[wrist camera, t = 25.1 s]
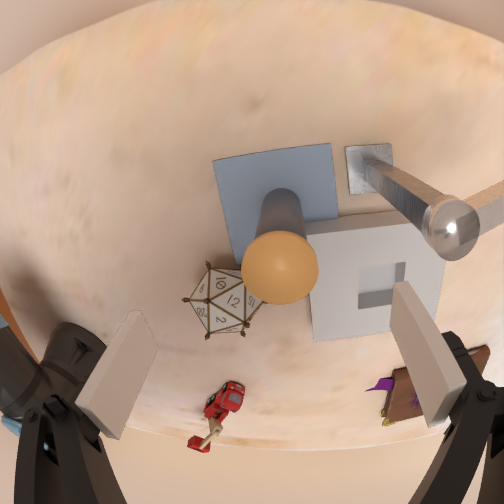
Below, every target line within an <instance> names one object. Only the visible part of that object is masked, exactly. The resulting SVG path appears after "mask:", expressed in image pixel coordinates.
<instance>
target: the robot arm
mask: <svg viewBox="0 0 504 504" xmlns="http://www.w3.org/2000/svg"><path fill="white" fill-rule="evenodd" d="M389 326H390V328H391V331H392V333H393V335H394V338H395V340H396V342H397V345H398V347H399V350H400V352H401V355H402V357H403V360H404V362H405V365H406V367H407V370H408V372H409V375H410V377H411V380H412V383H413V385H414V388H415V391H416V394H417V396H418V399H419V402H420V405H421V408H422V411H423V414H424V417H425V420H426V423H427V426H428V428H429V427H432V426H435V425H438V424H441V423H444V422H445V420H446V419H447V417H448V415H449V417H450V420H451V424H450V425H449V427H448V428H447V430H446V431H445V433H444V434H445V437H444V439H443V441H442V443H441V445H440V448H439V450H438V452H437V454H436V456H435V458H434V460H433V462H432V464H431V465H430V468H429V469H428V471H427V473H426V475H425V477H424V479H423V480H422V482H421V484H420V485H419V487H418V489H417V490H416V492H415V494H414V495H413V497H412V498H411V500H410V502H409V503H408V504H461V502H462V500H463V499H464V496H465V494H466V492H467V490H468V488H469V486H470V483H471V481H472V479H473V477H474V474H475V472H476V470H477V467H478V465H479V462H480V459H481V457H482V454H483V451H484V448H485V445H486V442H487V450H486V458H485V465H484V471H483V477H482V483H481V488H480V492H479V497H478V501H477V504H504V387H496V386H495V384H494V383H492V382H490V381H486V380H484V379H483V377H482V376H481V374H480V372H479V370H478V368H477V367H476V365H475V363H474V361H473V359H472V358H471V356H470V354H468V351H467V349H466V348H465V347H464V344H463V343H462V341H461V339H460V338H459V337H458V336H457V335H456V334H454V333H453V332H452V331H449V332H445V333H440V331H439V329H438V328H437V326H436V324H435V323H434V321H433V319H432V318H431V316H430V314H429V313H428V311H427V310H426V308H425V306H424V305H423V303H422V302H421V300H420V299H419V297H418V296H417V294H416V293H415V291H414V289H413V288H412V286H411V285H410V283H409V282H408V280H407V281H402V282H396V283H394V287H393V298H392V307H391V316H390V324H389ZM158 349H159V346H158V344H157V342H156V340H155V338H154V336H153V334H152V332H151V330H150V328H149V326H148V324H147V321H146V319H145V317H144V315H143V313H142V311H130V313H129V314H128V316H127V317H126V319H125V320H124V322H123V323H122V325H121V326H120V328H119V330H118V331H117V333H116V334H115V336H114V337H113V339H112V341H111V342H110V344H109V345H108V347H106V346H105V345H104V344H103V343H102V342H101V341H100V340H99V339H98V338H96V337H95V336H94V335H93V334H91V333H90V332H88V331H87V330H85V329H83V328H81V327H79V326H77V325H74V324H71V323H62V324H59V325H58V326H57V327H56V328H55V330H54V331H53V332H52V334H51V336H50V339H49V342H48V345H47V348H46V351H45V354H44V357H43V360H42V361H41V363H40V364H38V363H37V362H36V361H35V360H34V358H33V357H32V356H31V355H30V353H29V352H28V351H27V350H26V348H25V347H24V346H23V344H22V343H21V342H20V340H19V339H18V338H17V336H16V335H15V334H14V332H13V331H12V330H11V328H10V327H9V323H8V322H6V321H5V320H4V318H3V317H2V316H1V314H0V411H1V412H2V413H3V414H4V415H3V416H2V420H1V422H2V424H3V425H4V426H6V427H7V428H8V429H9V430H10V431H11V432H13V433H14V434H15V435H17V436H18V437H20V439H19V445H18V453H17V461H16V472H15V486H14V504H127V503H126V501H125V498H124V496H123V494H122V492H121V489H120V487H119V485H118V483H117V480H116V478H115V475H114V473H113V470H112V467H111V465H110V463H109V460H108V457H107V454H106V451H105V448H104V445H103V442H102V439H101V438H100V436H99V433H100V431H101V432H102V433H103V434H105V436H106V437H109V438H113V439H117V440H120V437H121V434H122V432H123V430H124V427H125V425H126V422H127V420H128V418H129V415H130V413H131V410H132V408H133V406H134V403H135V401H136V399H137V396H138V394H139V392H140V389H141V387H142V385H143V382H144V380H145V378H146V375H147V373H148V371H149V369H150V366H151V364H152V362H153V360H154V357H155V355H156V353H157V351H158ZM487 439H488V440H487Z"/></svg>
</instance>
